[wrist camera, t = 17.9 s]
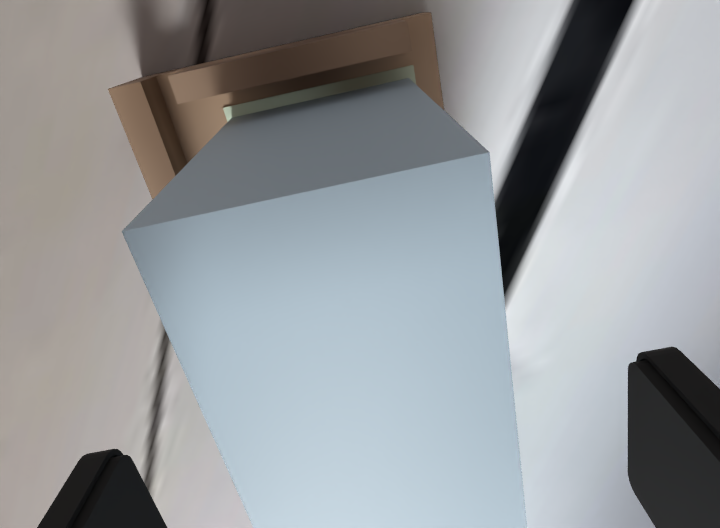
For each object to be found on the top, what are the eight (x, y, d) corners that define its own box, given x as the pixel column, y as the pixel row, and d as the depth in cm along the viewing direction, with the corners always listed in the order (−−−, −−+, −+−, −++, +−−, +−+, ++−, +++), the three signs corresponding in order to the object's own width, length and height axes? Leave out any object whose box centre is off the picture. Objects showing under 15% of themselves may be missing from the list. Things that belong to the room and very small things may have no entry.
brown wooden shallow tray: (423, 12, 18) (443, 12, 15) (491, 497, 28) (511, 560, 25) (138, 77, 18) (96, 92, 15) (308, 530, 29) (305, 596, 25)
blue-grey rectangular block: (413, 77, 17) (498, 150, 8) (449, 308, 21) (534, 529, 12) (231, 117, 17) (121, 231, 8) (300, 338, 21) (274, 575, 12)
